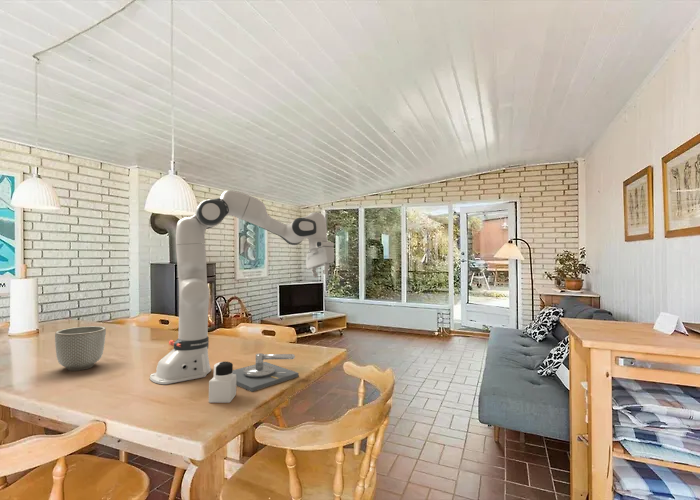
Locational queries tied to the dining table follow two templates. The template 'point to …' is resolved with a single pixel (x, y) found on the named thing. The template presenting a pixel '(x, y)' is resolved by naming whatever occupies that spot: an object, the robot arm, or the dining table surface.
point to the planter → (79, 346)
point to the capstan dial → (261, 369)
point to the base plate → (263, 378)
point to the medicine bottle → (222, 383)
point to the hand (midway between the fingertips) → (320, 275)
